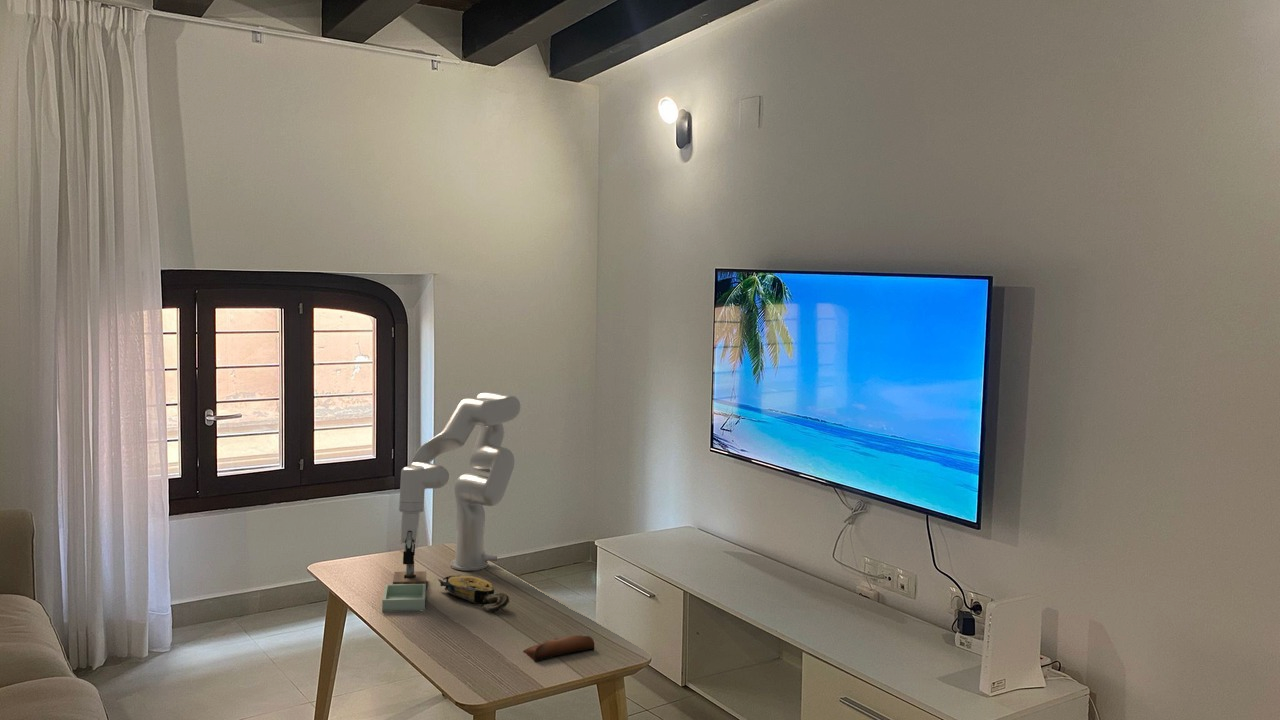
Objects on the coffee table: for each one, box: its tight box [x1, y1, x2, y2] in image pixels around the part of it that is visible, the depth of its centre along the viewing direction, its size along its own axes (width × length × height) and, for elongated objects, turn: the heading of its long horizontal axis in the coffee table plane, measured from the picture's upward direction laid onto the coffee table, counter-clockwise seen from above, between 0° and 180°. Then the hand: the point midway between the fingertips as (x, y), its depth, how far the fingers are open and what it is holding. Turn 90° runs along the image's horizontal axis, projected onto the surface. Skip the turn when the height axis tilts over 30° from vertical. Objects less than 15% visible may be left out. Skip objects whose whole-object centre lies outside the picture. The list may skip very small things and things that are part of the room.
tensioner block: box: [392, 570, 427, 585], centre depth 300 cm, size 10×10×3 cm
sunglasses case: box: [523, 634, 595, 662], centre depth 254 cm, size 18×7×7 cm
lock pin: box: [405, 562, 415, 578], centre depth 300 cm, size 2×2×8 cm
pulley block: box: [437, 575, 510, 613], centre depth 291 cm, size 14×6×30 cm
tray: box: [381, 583, 427, 613], centre depth 285 cm, size 12×14×4 cm
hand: (408, 559), depth 299 cm, fingers open, 9 cm apart
